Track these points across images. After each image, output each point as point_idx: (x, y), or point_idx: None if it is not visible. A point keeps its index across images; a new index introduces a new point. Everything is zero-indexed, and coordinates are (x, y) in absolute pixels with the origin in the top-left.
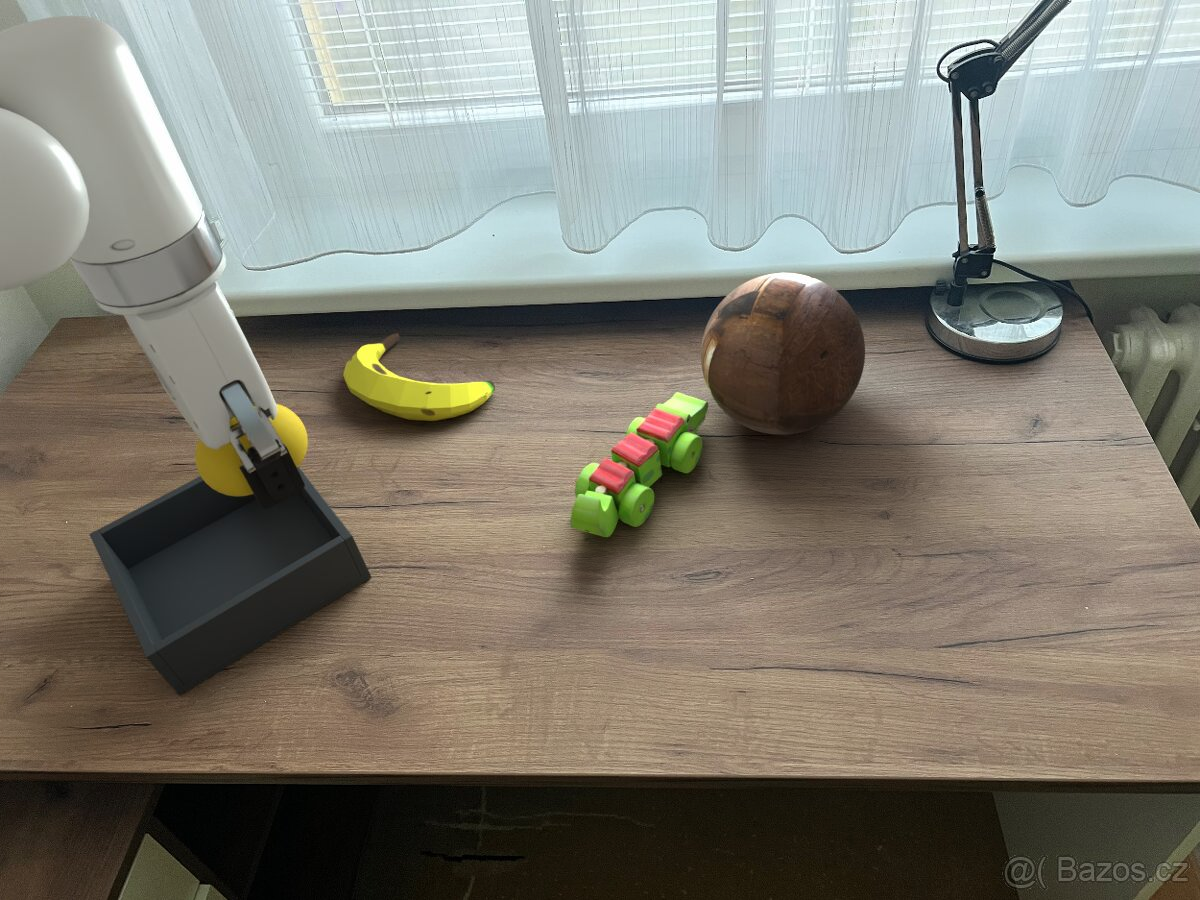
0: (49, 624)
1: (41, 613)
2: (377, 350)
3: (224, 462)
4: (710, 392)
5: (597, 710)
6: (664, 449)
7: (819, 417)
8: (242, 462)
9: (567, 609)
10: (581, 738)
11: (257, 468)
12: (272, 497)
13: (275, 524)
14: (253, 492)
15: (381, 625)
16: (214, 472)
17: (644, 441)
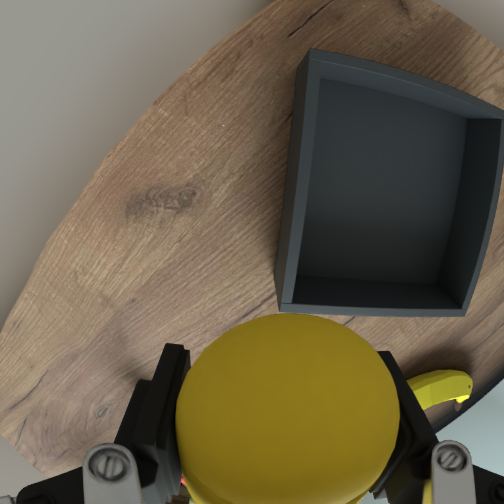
0: (459, 45)
1: (473, 49)
2: (459, 399)
3: (204, 440)
4: (191, 502)
5: (50, 315)
6: None
7: None
8: (131, 468)
9: (124, 357)
10: (39, 296)
11: (82, 466)
12: (137, 383)
13: (405, 247)
14: (161, 376)
15: (215, 253)
16: (219, 393)
17: (182, 475)
